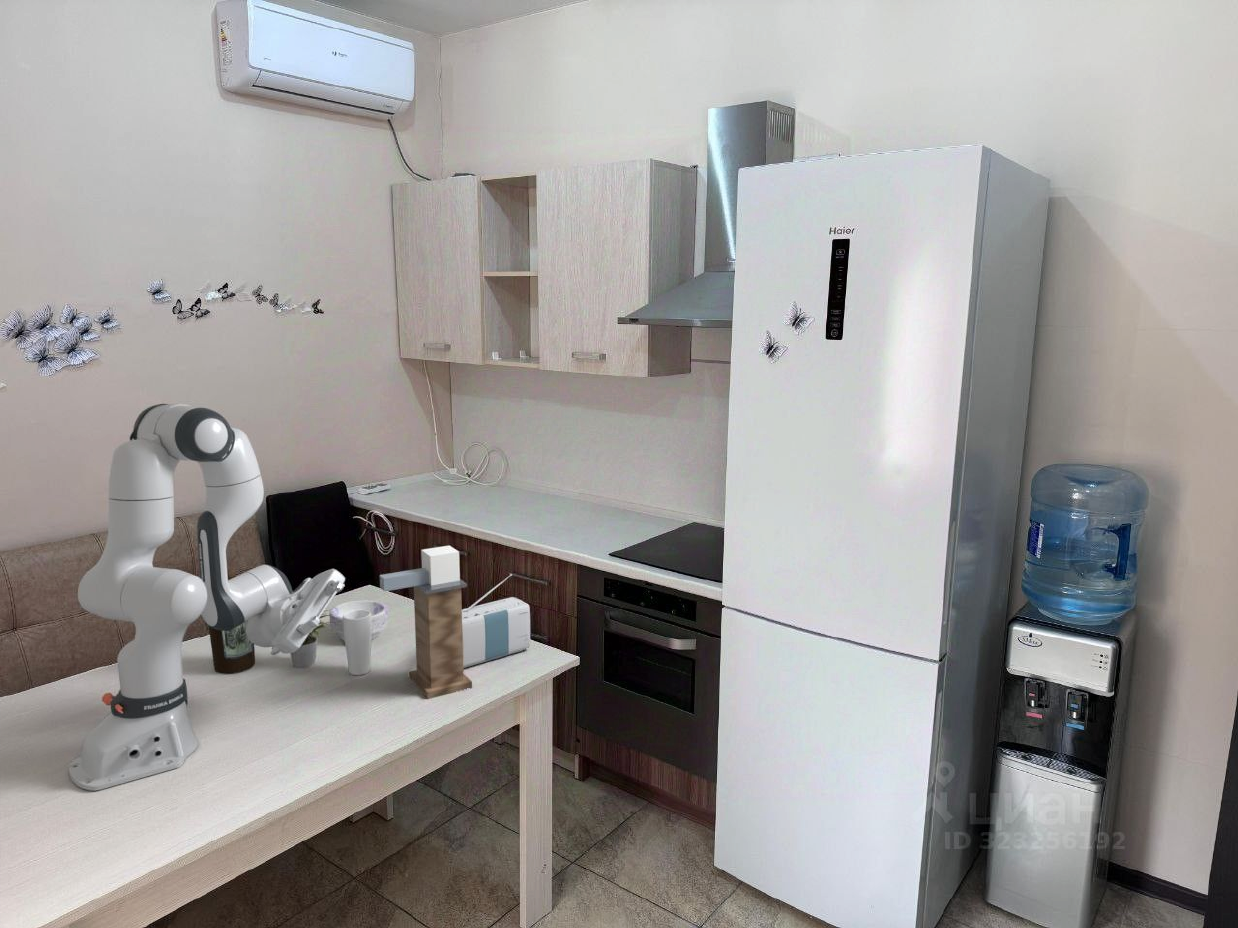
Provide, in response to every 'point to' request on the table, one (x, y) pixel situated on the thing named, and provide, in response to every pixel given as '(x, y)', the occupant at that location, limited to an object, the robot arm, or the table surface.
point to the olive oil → (231, 647)
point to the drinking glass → (358, 640)
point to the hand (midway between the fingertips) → (329, 602)
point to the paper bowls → (376, 608)
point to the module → (426, 570)
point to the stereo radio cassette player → (494, 629)
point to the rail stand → (439, 639)
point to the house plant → (307, 649)
